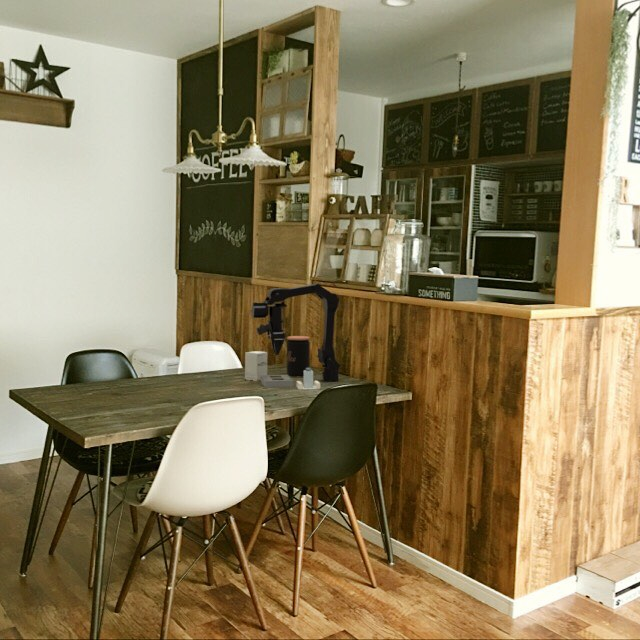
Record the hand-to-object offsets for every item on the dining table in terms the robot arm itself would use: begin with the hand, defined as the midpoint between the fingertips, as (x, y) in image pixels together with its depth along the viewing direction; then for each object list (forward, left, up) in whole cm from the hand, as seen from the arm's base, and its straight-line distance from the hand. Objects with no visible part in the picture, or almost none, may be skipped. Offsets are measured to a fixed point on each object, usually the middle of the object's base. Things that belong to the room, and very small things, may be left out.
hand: (276, 353), depth 317 cm
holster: (-12, +13, -14) cm, 22 cm away
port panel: (0, +3, -14) cm, 14 cm away
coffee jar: (-14, -26, -14) cm, 33 cm away
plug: (-12, +13, -13) cm, 22 cm away
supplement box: (+7, -15, -14) cm, 22 cm away
